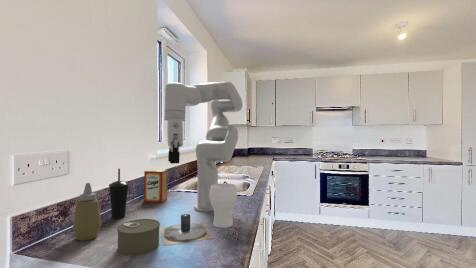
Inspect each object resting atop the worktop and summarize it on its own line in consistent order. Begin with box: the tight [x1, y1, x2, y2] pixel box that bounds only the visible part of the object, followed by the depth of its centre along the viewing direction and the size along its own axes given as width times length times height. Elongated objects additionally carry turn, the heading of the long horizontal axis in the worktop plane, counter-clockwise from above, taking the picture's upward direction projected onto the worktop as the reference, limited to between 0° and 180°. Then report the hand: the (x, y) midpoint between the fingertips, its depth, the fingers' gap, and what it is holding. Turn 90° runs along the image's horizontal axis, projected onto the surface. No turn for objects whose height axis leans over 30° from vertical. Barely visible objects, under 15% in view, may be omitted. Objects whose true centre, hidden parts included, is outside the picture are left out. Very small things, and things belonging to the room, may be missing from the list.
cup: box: [210, 182, 238, 229], centre depth 97 cm, size 11×11×15 cm
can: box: [116, 218, 161, 257], centre depth 77 cm, size 12×12×7 cm
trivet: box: [159, 222, 215, 247], centre depth 88 cm, size 16×16×1 cm
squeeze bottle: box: [72, 182, 102, 242], centre depth 84 cm, size 8×8×18 cm
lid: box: [164, 213, 207, 241], centre depth 88 cm, size 14×14×6 cm
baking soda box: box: [143, 168, 168, 204], centre depth 132 cm, size 10×6×16 cm
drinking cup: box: [108, 168, 130, 219], centre depth 105 cm, size 8×8×20 cm
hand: (173, 162), depth 94 cm, fingers open, 9 cm apart
